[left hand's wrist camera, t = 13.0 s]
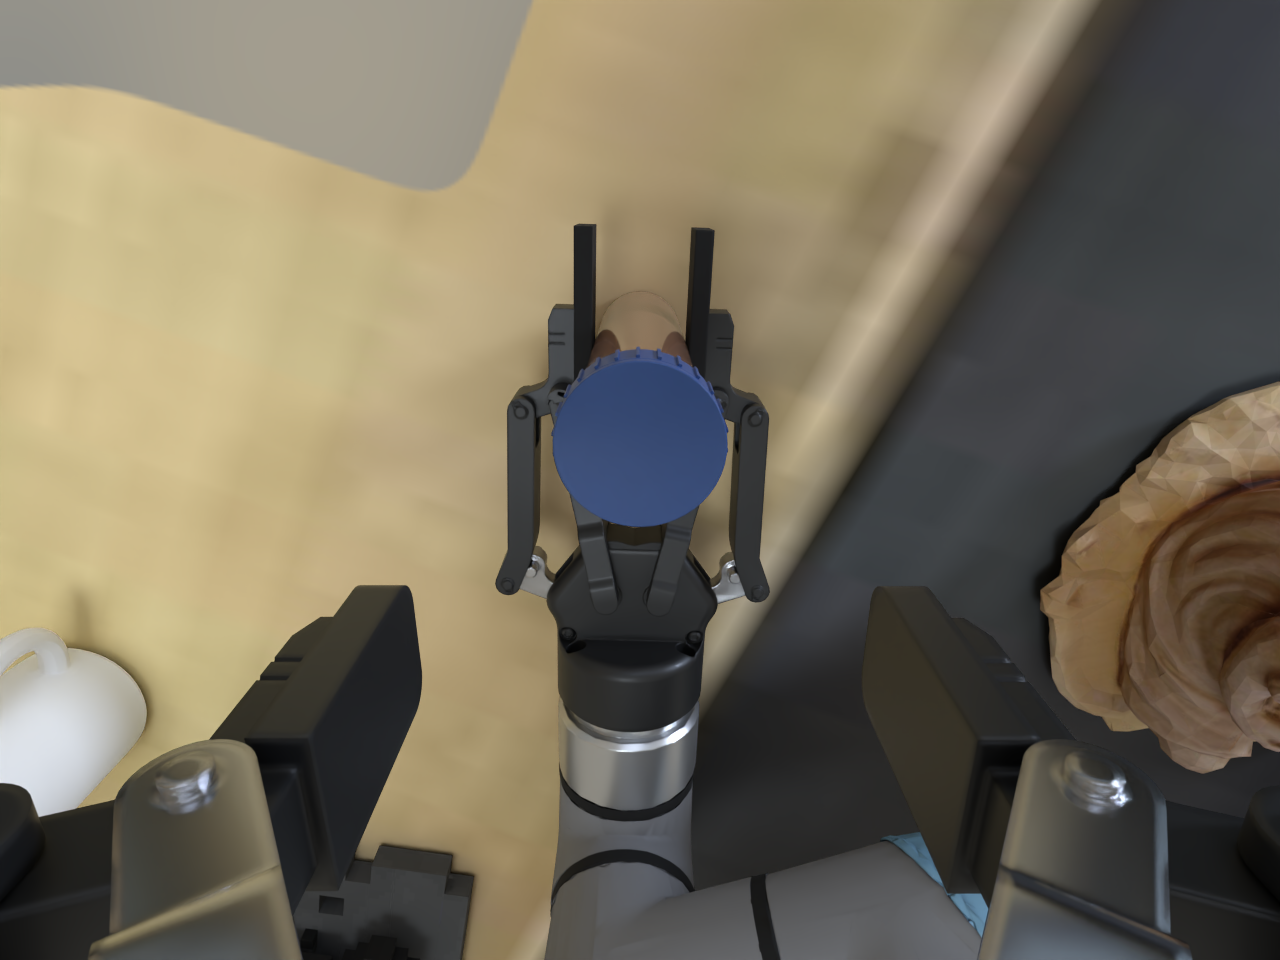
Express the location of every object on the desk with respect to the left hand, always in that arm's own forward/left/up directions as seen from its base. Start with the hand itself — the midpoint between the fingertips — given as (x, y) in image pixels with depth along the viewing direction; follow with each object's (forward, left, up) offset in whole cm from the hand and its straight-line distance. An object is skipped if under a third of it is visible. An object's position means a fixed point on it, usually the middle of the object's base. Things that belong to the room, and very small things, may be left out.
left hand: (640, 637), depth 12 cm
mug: (+36, +18, -29) cm, 50 cm away
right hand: (-1, -5, -23) cm, 23 cm away
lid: (0, 0, -10) cm, 10 cm away
